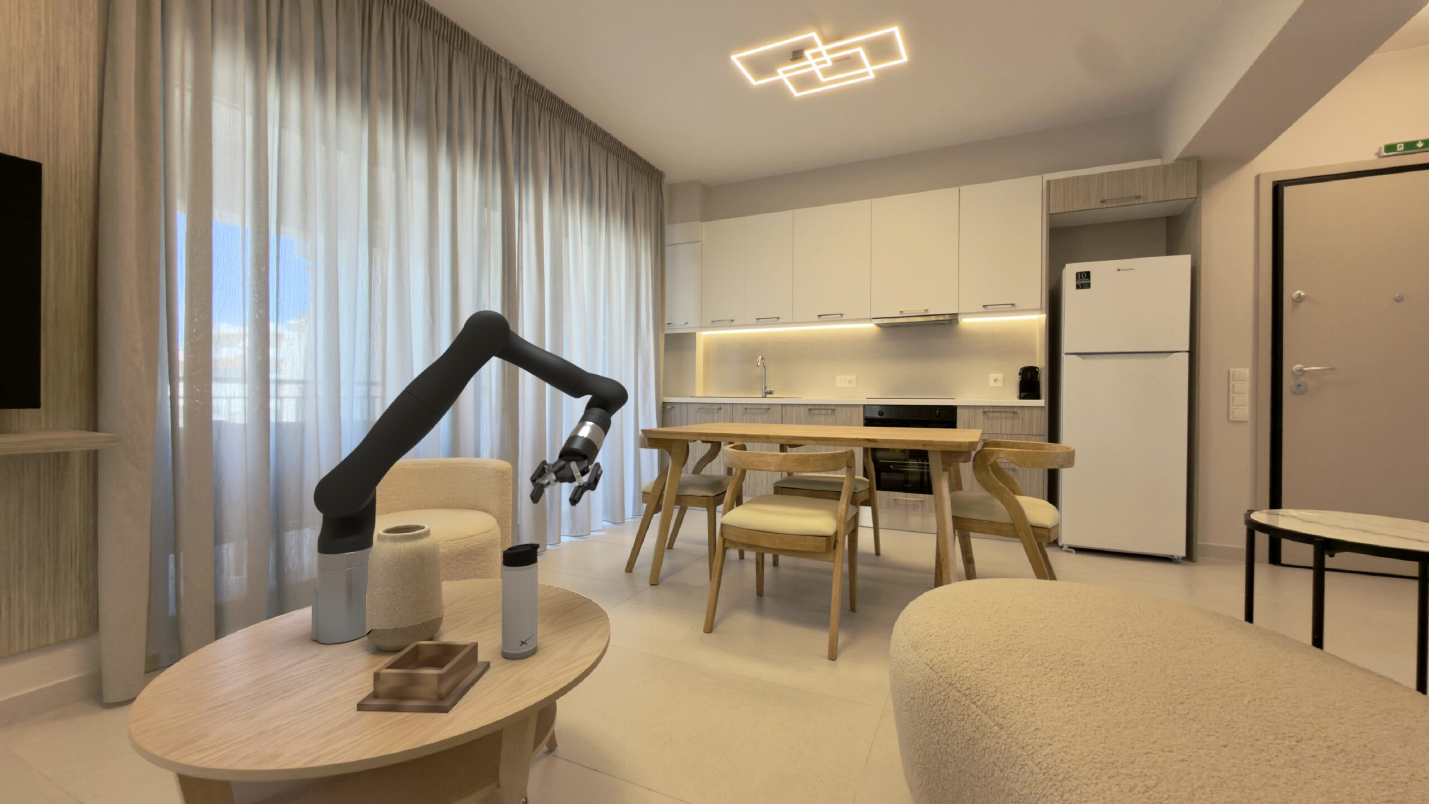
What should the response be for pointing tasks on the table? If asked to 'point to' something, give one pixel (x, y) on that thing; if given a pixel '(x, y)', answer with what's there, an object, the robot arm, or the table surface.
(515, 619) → the travel mug
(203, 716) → the table surface
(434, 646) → the mug holder
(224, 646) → the table surface
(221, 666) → the table surface
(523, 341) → the robot arm
